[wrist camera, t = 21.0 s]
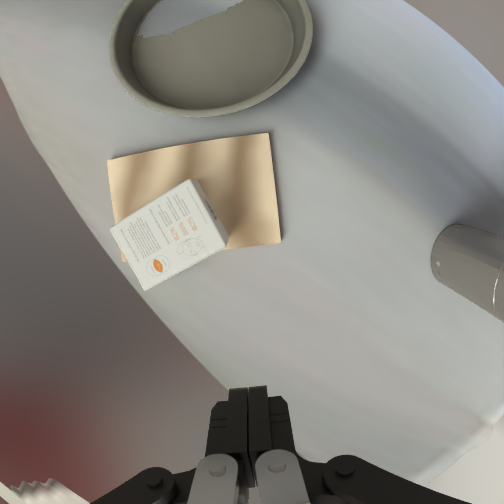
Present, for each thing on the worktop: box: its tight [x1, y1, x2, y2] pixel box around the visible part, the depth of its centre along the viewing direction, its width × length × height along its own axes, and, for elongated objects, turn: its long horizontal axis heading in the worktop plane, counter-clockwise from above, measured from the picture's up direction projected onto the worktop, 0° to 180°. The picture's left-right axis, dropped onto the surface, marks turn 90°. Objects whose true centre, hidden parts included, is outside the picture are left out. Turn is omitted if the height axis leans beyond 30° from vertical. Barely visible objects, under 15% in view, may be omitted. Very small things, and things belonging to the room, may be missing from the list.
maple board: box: [107, 133, 281, 262], centre depth 36 cm, size 20×13×1 cm, turn 97°
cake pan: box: [109, 0, 313, 117], centre depth 30 cm, size 25×25×4 cm
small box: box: [109, 179, 229, 291], centre depth 33 cm, size 8×6×10 cm
